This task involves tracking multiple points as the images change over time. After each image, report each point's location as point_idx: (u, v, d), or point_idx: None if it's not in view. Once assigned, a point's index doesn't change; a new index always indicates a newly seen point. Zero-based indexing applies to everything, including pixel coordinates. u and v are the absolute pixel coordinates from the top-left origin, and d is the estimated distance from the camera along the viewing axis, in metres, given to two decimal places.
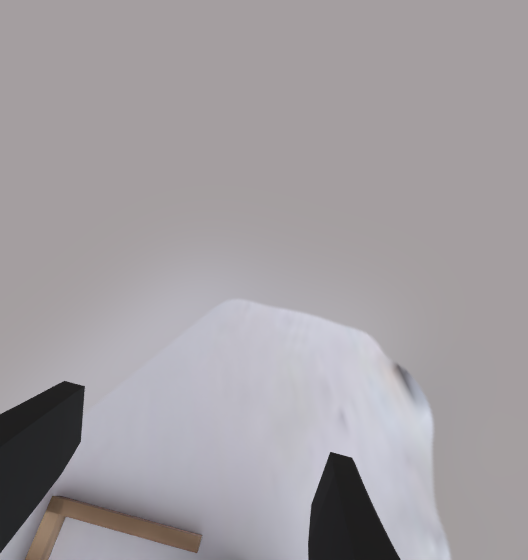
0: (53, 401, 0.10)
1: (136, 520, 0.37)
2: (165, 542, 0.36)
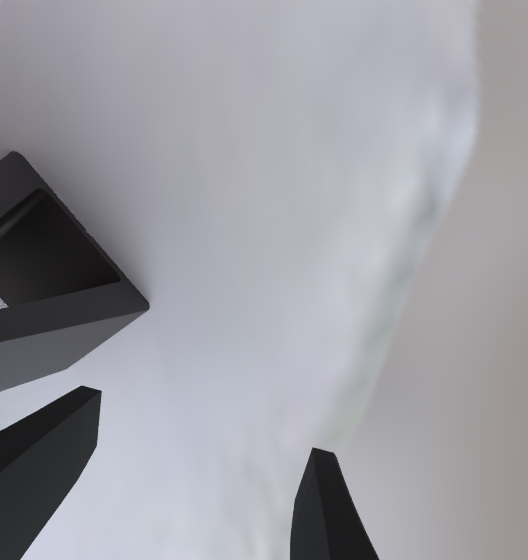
0: (72, 407, 0.10)
1: None
2: None
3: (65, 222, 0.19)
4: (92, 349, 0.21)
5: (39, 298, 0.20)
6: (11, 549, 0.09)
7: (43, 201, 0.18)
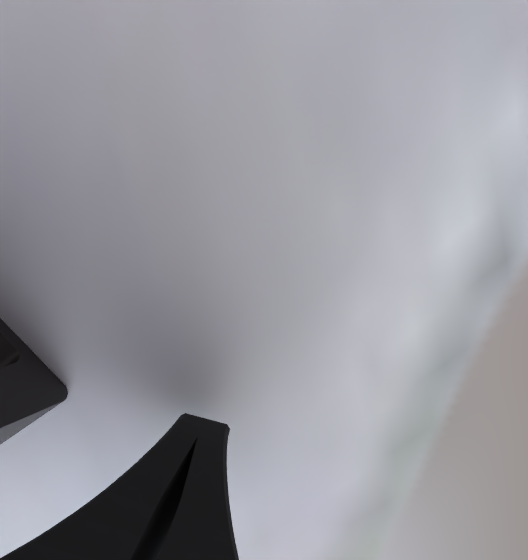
0: (188, 438, 0.10)
1: None
2: None
3: None
4: None
5: None
6: None
7: None
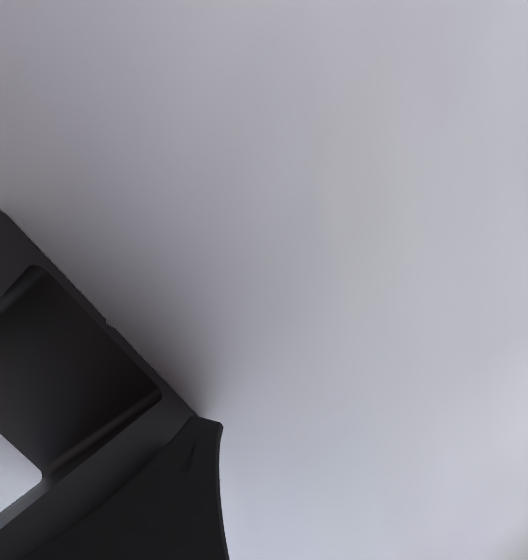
0: (196, 440, 0.10)
1: None
2: None
3: (74, 312, 0.12)
4: None
5: (40, 418, 0.14)
6: None
7: (39, 282, 0.12)
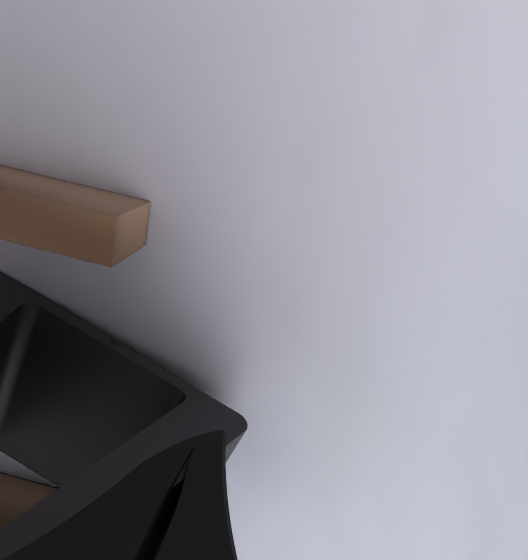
0: (189, 438, 0.10)
1: None
2: None
3: (77, 339, 0.12)
4: None
5: (91, 463, 0.13)
6: None
7: (39, 321, 0.12)
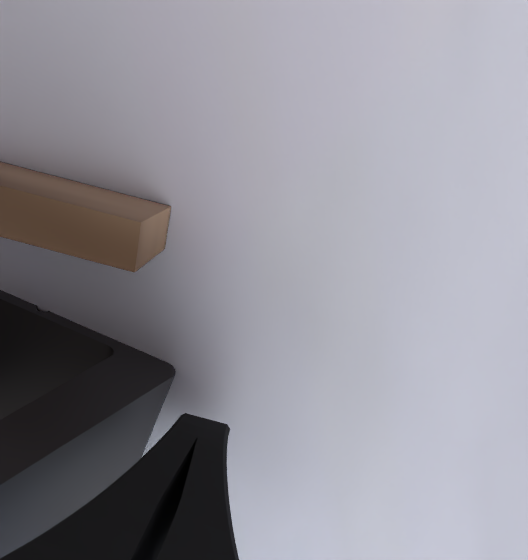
0: (187, 438, 0.10)
1: None
2: (16, 235, 0.10)
3: (4, 310, 0.12)
4: None
5: None
6: None
7: None
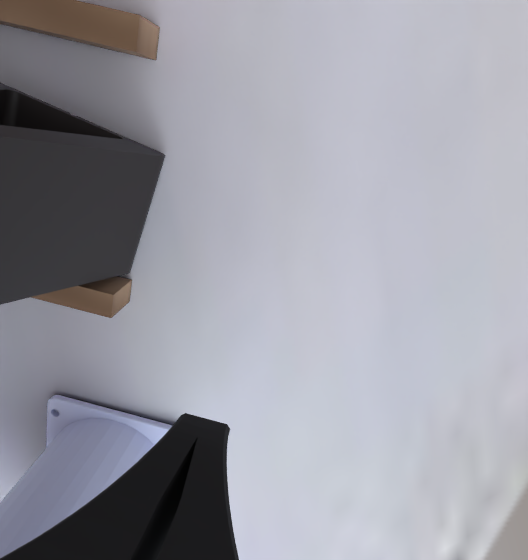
0: (187, 438, 0.10)
1: None
2: (62, 30, 0.15)
3: (48, 113, 0.18)
4: (138, 234, 0.19)
5: None
6: None
7: (20, 105, 0.18)
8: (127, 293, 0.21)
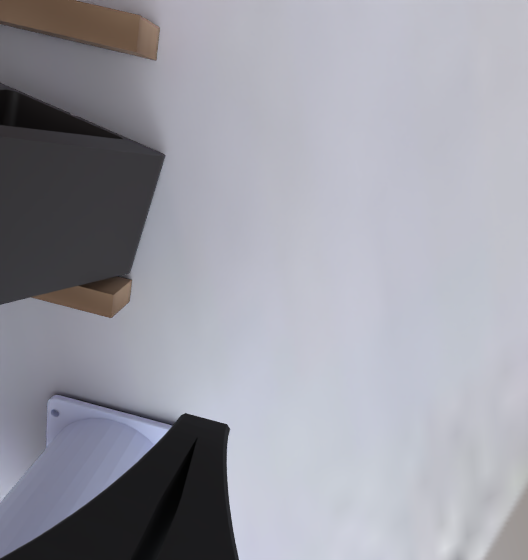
0: (187, 438, 0.10)
1: None
2: (62, 31, 0.15)
3: (48, 113, 0.18)
4: (138, 234, 0.19)
5: None
6: None
7: (20, 105, 0.18)
8: (127, 293, 0.21)
